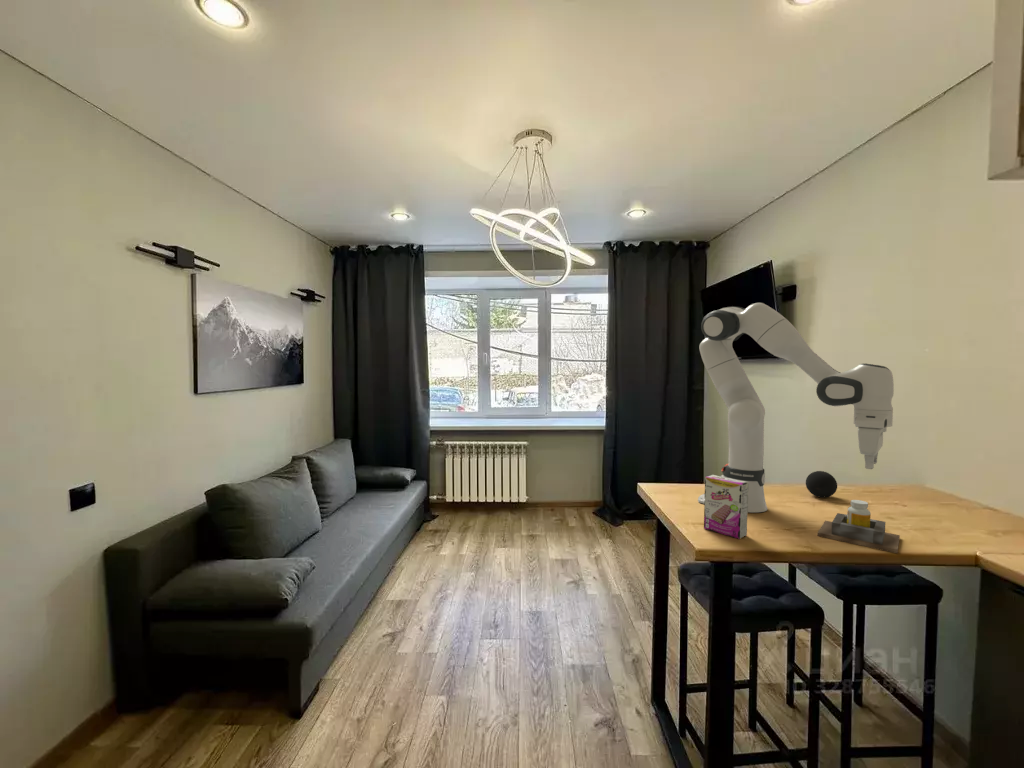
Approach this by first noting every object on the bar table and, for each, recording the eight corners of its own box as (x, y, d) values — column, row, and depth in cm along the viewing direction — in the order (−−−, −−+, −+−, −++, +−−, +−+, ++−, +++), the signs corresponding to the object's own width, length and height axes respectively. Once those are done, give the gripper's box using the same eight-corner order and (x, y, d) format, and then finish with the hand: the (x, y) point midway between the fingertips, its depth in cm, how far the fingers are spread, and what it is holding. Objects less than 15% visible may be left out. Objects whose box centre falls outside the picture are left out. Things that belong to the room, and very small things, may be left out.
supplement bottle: (842, 530, 134) (843, 499, 134) (859, 530, 134) (860, 498, 134) (856, 537, 129) (857, 504, 128) (874, 537, 129) (875, 504, 128)
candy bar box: (702, 529, 138) (703, 476, 137) (710, 525, 141) (712, 474, 140) (740, 540, 129) (741, 484, 128) (747, 536, 132) (749, 481, 131)
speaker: (843, 501, 166) (844, 474, 166) (815, 500, 167) (816, 474, 166) (825, 493, 176) (826, 468, 176) (799, 493, 177) (800, 468, 176)
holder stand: (817, 535, 132) (817, 520, 132) (825, 523, 143) (825, 509, 142) (897, 553, 120) (898, 536, 120) (899, 538, 130) (900, 523, 130)
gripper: (863, 415, 140) (862, 459, 141) (854, 421, 125) (852, 470, 126) (889, 417, 136) (888, 462, 136) (883, 423, 121) (881, 473, 122)
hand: (871, 466), depth 131 cm, fingers open, 8 cm apart
